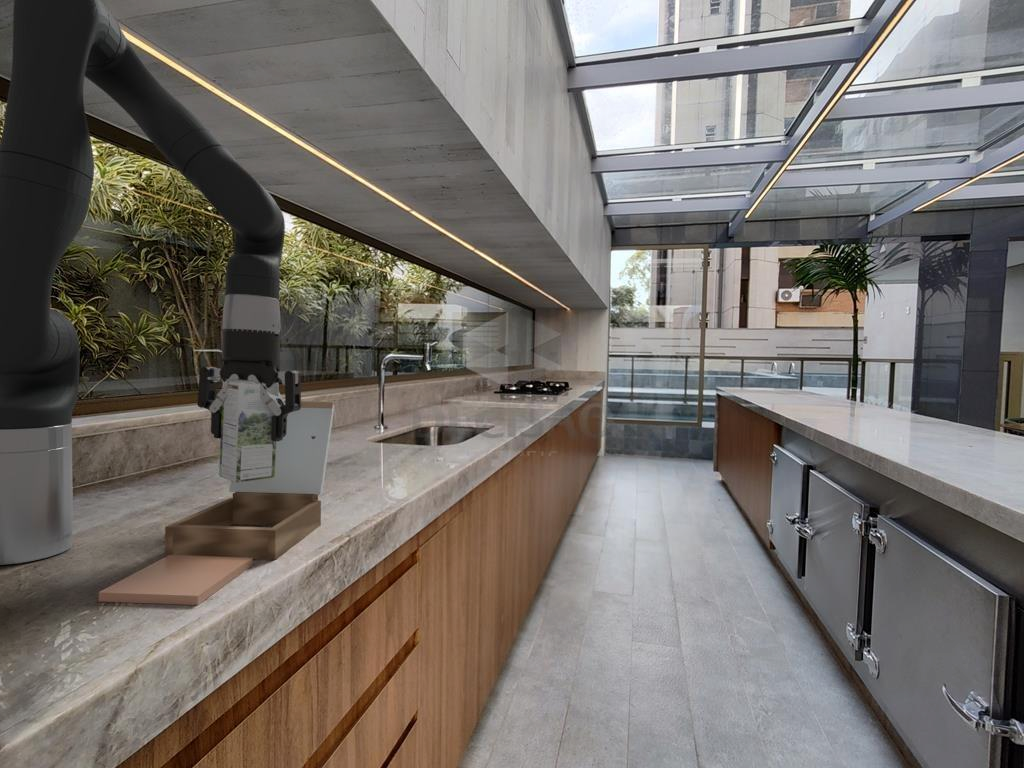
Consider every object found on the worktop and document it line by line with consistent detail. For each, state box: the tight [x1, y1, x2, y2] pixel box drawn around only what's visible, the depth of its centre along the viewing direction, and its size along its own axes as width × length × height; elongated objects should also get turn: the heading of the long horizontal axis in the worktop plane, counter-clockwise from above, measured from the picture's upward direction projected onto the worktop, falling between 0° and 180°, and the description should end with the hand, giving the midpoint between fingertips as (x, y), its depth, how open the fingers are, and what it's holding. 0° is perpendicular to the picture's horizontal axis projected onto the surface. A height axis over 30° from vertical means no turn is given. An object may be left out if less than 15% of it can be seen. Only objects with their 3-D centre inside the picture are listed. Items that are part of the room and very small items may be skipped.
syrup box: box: [218, 379, 280, 482], centre depth 75 cm, size 6×6×14 cm
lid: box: [228, 399, 336, 496], centre depth 86 cm, size 15×6×15 cm, turn 88°
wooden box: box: [164, 436, 322, 561], centre depth 78 cm, size 15×19×14 cm
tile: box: [98, 555, 254, 606], centre depth 61 cm, size 11×11×1 cm
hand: (248, 439), depth 75 cm, fingers closed on syrup box, 8 cm apart
